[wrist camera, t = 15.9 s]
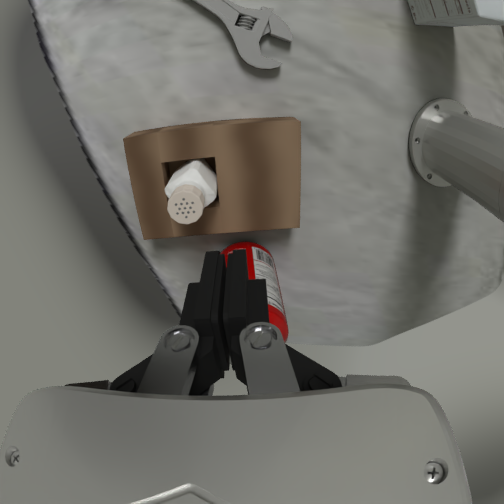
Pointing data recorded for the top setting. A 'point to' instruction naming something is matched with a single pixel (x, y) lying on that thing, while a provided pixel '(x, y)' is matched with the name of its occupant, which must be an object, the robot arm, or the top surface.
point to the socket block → (220, 174)
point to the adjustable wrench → (243, 35)
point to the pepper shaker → (191, 190)
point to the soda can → (264, 268)
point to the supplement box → (457, 12)
